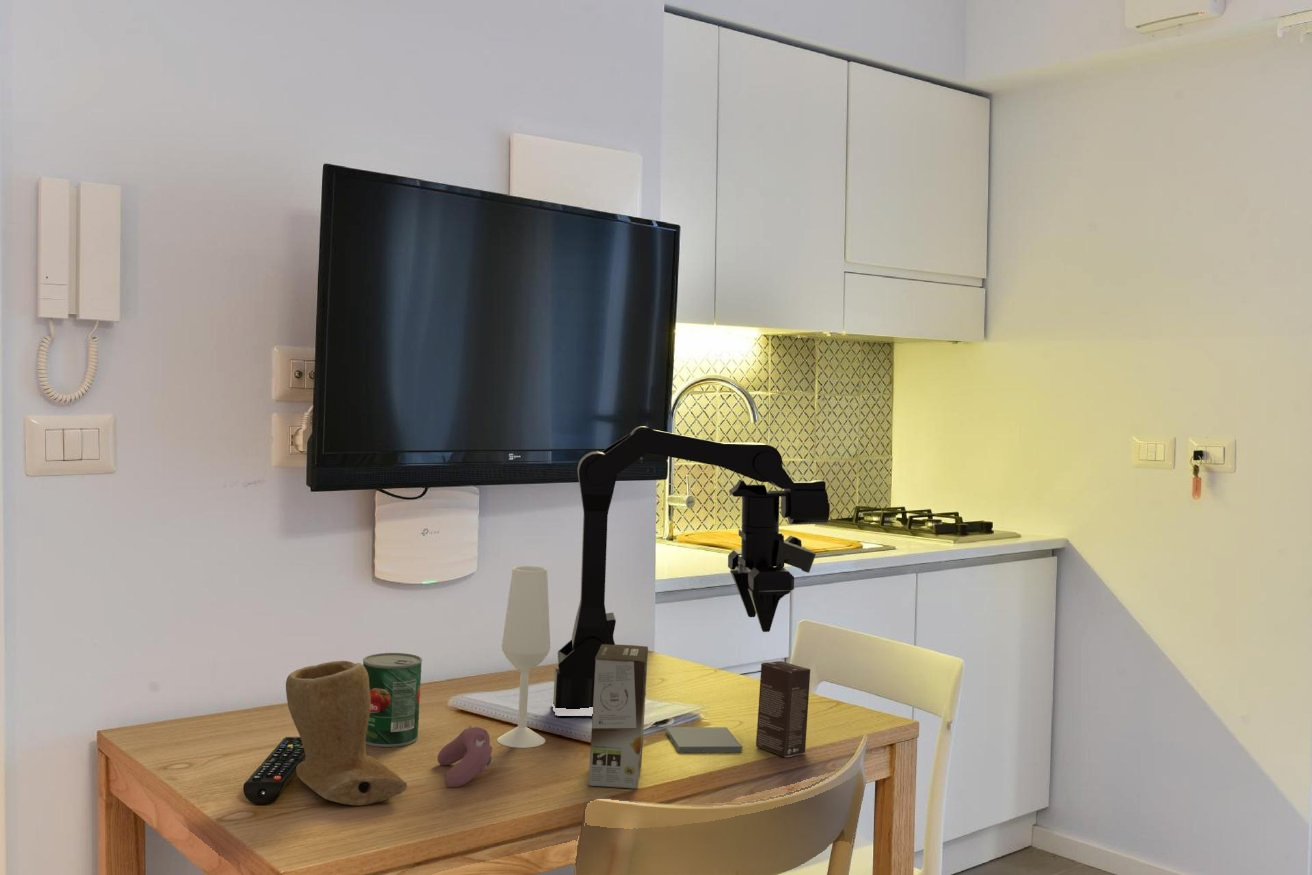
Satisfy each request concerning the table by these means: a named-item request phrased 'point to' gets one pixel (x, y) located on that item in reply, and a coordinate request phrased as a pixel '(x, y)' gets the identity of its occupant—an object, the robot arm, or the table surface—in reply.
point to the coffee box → (618, 716)
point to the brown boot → (338, 734)
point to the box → (783, 708)
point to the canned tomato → (393, 698)
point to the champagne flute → (526, 641)
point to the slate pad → (703, 739)
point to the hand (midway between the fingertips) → (758, 624)
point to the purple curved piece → (466, 756)
